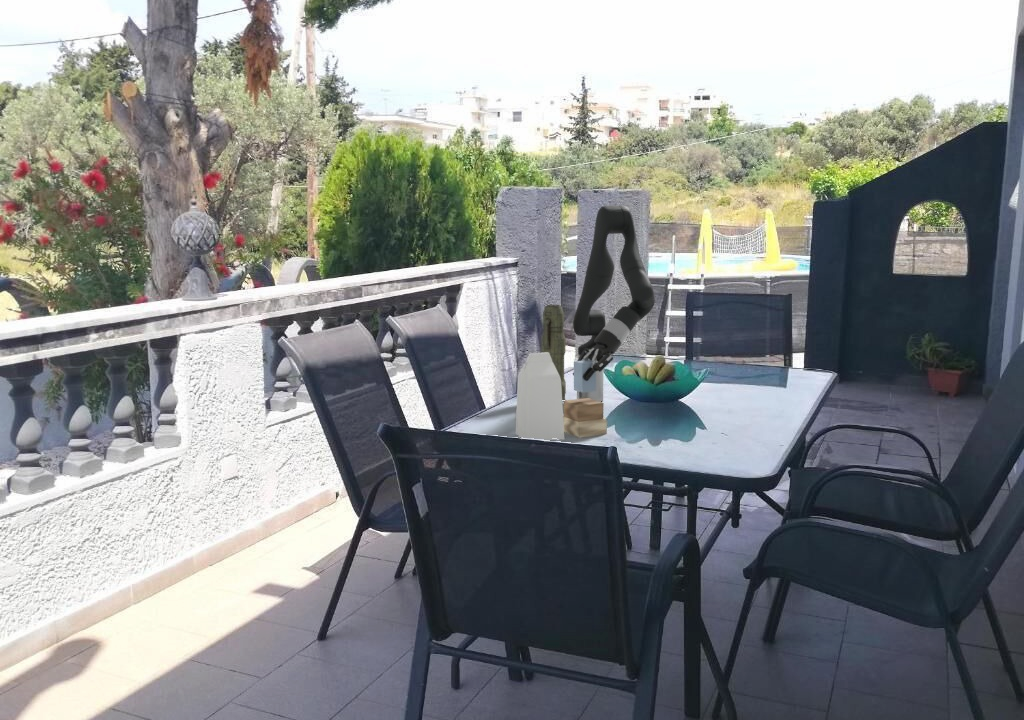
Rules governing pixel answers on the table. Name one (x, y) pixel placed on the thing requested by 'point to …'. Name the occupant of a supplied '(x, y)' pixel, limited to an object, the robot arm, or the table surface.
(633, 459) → the table surface
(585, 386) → the slate block
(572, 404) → the tower top block
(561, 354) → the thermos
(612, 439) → the table surface
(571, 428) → the tower bottom block
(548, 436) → the milk
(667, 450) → the table surface
